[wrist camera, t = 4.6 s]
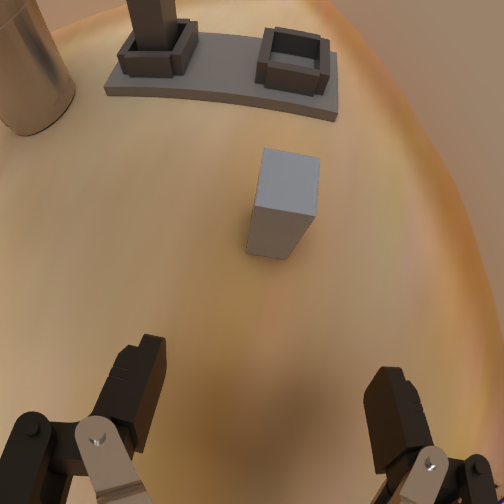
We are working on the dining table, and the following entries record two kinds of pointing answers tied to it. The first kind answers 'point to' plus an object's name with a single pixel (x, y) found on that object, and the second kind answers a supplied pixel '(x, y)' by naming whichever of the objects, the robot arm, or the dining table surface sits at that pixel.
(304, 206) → the plug
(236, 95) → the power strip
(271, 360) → the dining table surface
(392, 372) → the robot arm
